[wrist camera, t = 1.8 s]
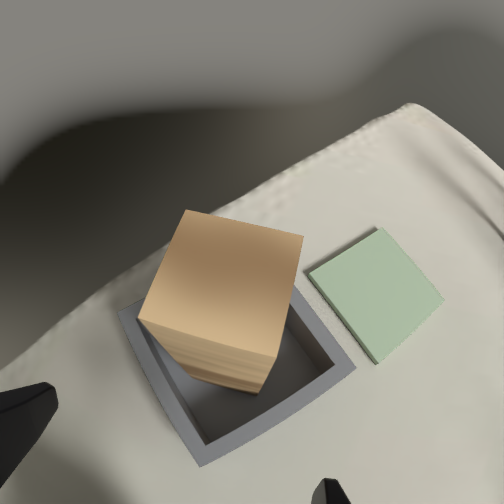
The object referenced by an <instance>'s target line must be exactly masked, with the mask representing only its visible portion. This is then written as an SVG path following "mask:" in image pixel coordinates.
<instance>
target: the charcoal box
mask: <svg viewBox="0 0 504 504" xmlns="http://www.w3.org/2000/svg"><path fill="white" fill-rule="evenodd" d="M145 299H146V298H144V299H142V300H140V301H138V302H136V303H134V304H132V305H130V306H128V307H127V308H125V309H123V310H121V311H119V312H117V314H118V317H119V319H120V322H121V324H122V326H123V328H124V331H125V333H126V335H127V337H128V340H129V342H130V344H131V346H132V348H133V350H134V352H135V355H136V357H137V359H138V361H139V363H140V365H141V367H142V369H143V371H144V373H145V375H146V377H147V379H148V381H149V383H150V385H151V387H152V388H153V390H154V392H155V394H156V396H157V398H158V400H159V401H160V403H161V405H162V407H163V409H164V410H165V412H166V414H167V416H168V417H169V419H170V421H171V422H172V424H173V426H174V428H175V429H176V431H177V433H178V434H179V436H180V437H181V439H182V441H183V442H184V444H185V446H186V447H187V449H188V450H189V452H190V453H191V455H192V456H193V458H194V459H195V461H196V463H197V464H198V466H199V467H202V466H204V465H206V464H208V463H210V462H212V461H214V460H216V459H218V458H220V457H222V456H224V455H225V454H227V453H229V452H231V451H233V450H235V449H236V448H238V447H240V446H242V445H244V444H245V443H247V442H249V441H251V440H252V439H254V438H256V437H257V436H259V435H261V434H262V433H264V432H266V431H267V430H269V429H271V428H272V427H274V426H275V425H277V424H279V423H280V422H282V421H283V420H285V419H286V418H288V417H290V416H291V415H293V414H294V413H296V412H297V411H299V410H300V409H302V408H303V407H305V406H306V405H307V404H309V403H310V402H312V401H313V400H315V399H316V398H317V397H319V396H320V395H322V394H323V393H324V392H326V391H327V390H329V389H330V388H331V387H333V386H334V385H335V384H337V383H338V382H339V381H341V380H342V379H343V378H345V377H346V376H347V375H348V374H350V373H351V372H352V371H354V370H355V369H356V366H355V365H354V364H353V362H352V361H351V360H350V358H349V357H348V356H347V354H346V353H345V352H344V350H343V349H342V348H341V346H340V345H339V344H338V342H337V341H336V340H335V338H334V337H333V336H332V334H331V333H330V332H329V330H328V329H327V328H326V326H325V325H324V324H323V322H322V321H321V320H320V318H319V317H318V316H317V314H316V313H315V312H314V310H313V309H312V308H311V306H310V305H309V304H308V302H307V301H306V300H305V298H304V297H303V296H302V294H301V293H300V292H299V291H298V289H297V288H296V287H295V285H293V290H292V294H291V299H290V303H289V308H288V312H287V317H286V321H285V325H284V329H283V334H282V338H281V342H280V346H279V350H278V354H277V358H276V360H275V362H274V364H273V366H272V368H271V370H270V372H269V374H268V376H267V378H266V380H265V382H264V384H263V386H262V388H261V389H260V391H259V393H258V395H257V396H254V395H250V394H246V393H242V392H238V391H234V390H231V389H227V388H223V387H220V386H216V385H213V384H209V383H206V382H203V381H199V380H196V379H193V378H192V377H191V376H190V375H189V374H188V373H187V372H186V371H185V370H184V369H183V368H182V367H181V366H180V365H179V364H178V363H177V362H176V361H175V360H174V358H173V357H172V356H171V355H170V354H169V353H168V352H167V351H166V350H165V349H164V347H163V346H162V345H161V344H160V343H159V342H158V341H157V340H156V338H155V337H154V336H153V335H152V334H151V333H150V332H149V330H148V329H147V328H146V327H145V326H144V324H143V323H142V322H141V321H140V320H139V319H138V316H139V313H140V311H141V308H142V306H143V304H144V301H145Z"/></svg>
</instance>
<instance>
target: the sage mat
mask: <svg viewBox="0 0 504 504" xmlns="http://www.w3.org/2000/svg"><path fill="white" fill-rule="evenodd" d="M308 277H309V279H310V280H311V281H312V283H313V284H314V285H315V286H316V288H317V289H318V290H319V292H320V293H321V294H322V295H323V297H324V298H325V299H326V300H327V302H328V303H329V304H330V306H331V307H332V308H333V310H334V311H335V312H336V313H337V315H338V316H339V317H340V319H341V320H342V321H343V323H344V324H345V325H346V326H347V328H348V329H349V330H350V332H351V333H352V334H353V336H354V337H355V338H356V340H357V341H358V342H359V344H360V345H361V346H362V347H363V349H364V350H365V351H366V353H367V354H368V355H369V357H370V358H371V359H372V361H373V362H374V363H375V365H377V364H378V363H380V362H381V361H382V360H383V359H384V358H386V357H387V356H388V355H389V354H390V353H391V352H392V351H393V350H395V349H396V348H397V347H398V346H399V345H400V344H401V343H402V342H403V341H404V340H405V339H407V338H408V337H409V336H410V335H411V334H412V333H413V332H414V331H415V330H416V329H417V328H418V327H419V326H420V325H421V324H422V323H423V322H424V321H425V320H426V319H427V318H428V317H429V316H430V315H431V314H432V313H433V312H434V311H435V310H436V309H437V308H438V307H439V306H440V305H441V304H442V303H443V302H444V298H443V297H442V296H441V295H440V293H439V292H438V291H437V290H436V288H435V287H434V286H433V285H432V283H431V282H430V281H429V280H428V279H427V277H426V276H425V275H424V274H423V272H422V271H421V270H420V269H419V268H418V267H417V265H416V264H415V263H414V262H413V261H412V260H411V258H410V257H409V256H408V255H407V254H406V253H405V251H404V250H403V249H402V248H401V247H400V246H399V245H398V244H397V242H396V241H395V240H394V239H393V238H392V237H391V236H390V235H389V234H388V232H387V231H386V230H385V229H384V228H383V227H382V228H380V229H379V230H377V231H376V232H374V233H373V234H371V235H370V236H368V237H366V238H365V239H363V240H362V241H360V242H359V243H357V244H355V245H354V246H352V247H351V248H349V249H347V250H346V251H344V252H343V253H341V254H340V255H338V256H336V257H335V258H333V259H331V260H330V261H328V262H327V263H325V264H323V265H322V266H320V267H318V268H317V269H315V270H314V271H312V272H310V273H309V275H308Z"/></svg>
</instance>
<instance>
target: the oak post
mask: <svg viewBox="0 0 504 504" xmlns="http://www.w3.org/2000/svg"><path fill="white" fill-rule="evenodd" d="M303 237H304V236H301V235H297V234H292V233H288V232H284V231H280V230H275V229H271V228H267V227H262V226H258V225H254V224H249V223H245V222H240V221H236V220H231V219H227V218H222V217H218V216H213V215H209V214H204V213H199V212H194V211H190V210H186V211H185V213H184V215H183V217H182V219H181V221H180V223H179V225H178V227H177V229H176V231H175V234H174V236H173V238H172V240H171V242H170V244H169V247H168V249H167V251H166V253H165V255H164V257H163V260H162V262H161V264H160V266H159V269H158V271H157V273H156V275H155V278H154V280H153V282H152V285H151V287H150V289H149V292H148V294H147V296H146V299H145V301H144V304H143V306H142V308H141V311H140V313H139V316H138V319H139V320H140V321H141V322H142V323H143V324H144V326H145V327H146V328H147V329H148V330H149V332H150V333H151V334H152V335H153V336H154V337H155V338H156V340H157V341H158V342H159V343H160V344H161V345H162V346H163V347H164V349H165V350H166V351H167V352H168V353H169V354H170V355H171V356H172V357H173V358H174V360H175V361H176V362H177V363H178V364H179V365H180V366H181V367H182V368H183V369H184V370H185V371H186V372H187V373H188V374H189V375H190V376H191V377H192V378H193V379H196V380H199V381H203V382H206V383H209V384H213V385H216V386H220V387H223V388H227V389H231V390H234V391H238V392H242V393H246V394H250V395H254V396H257V395H258V393H259V391H260V389H261V388H262V386H263V384H264V382H265V380H266V378H267V376H268V374H269V372H270V370H271V368H272V366H273V364H274V362H275V360H276V358H277V354H278V350H279V346H280V342H281V338H282V334H283V329H284V325H285V321H286V317H287V312H288V308H289V303H290V299H291V294H292V290H293V285H294V281H295V276H296V271H297V267H298V262H299V257H300V252H301V247H302V242H303Z"/></svg>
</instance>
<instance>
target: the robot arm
mask: <svg viewBox="0 0 504 504" xmlns="http://www.w3.org/2000/svg"><path fill="white" fill-rule="evenodd" d="M57 408H58V399H57V394H56V389H55V387H54V386H52V385H50V384H49V383H47V382H42V383H38V384H34V385H30V386H26V387H22V388H17V389H13V390H9V391H5V392H0V488H1V487H2V485H3V484H4V483H5V481H6V480H7V479H8V478H9V476H10V475H11V474H12V472H13V471H14V470H15V468H16V467H17V466H18V464H19V463H20V462H21V461H22V459H23V458H24V457H25V456H26V454H27V453H28V452H29V450H30V449H31V448H32V447H33V445H34V444H35V443H36V442H37V440H38V439H39V437H40V436H41V434H42V433H43V431H44V430H45V428H46V426H47V425H48V423H49V421H50V420H51V418H52V417H53V415H54V414H55V412H56V410H57ZM311 504H351V503H350V501H349V499H348V497H347V496H346V494H345V492H344V491H343V489H342V487H341V486H340V484H339V482H338V481H337V480H336V479H331V478H324V479H322V481H321V482H320V484H319V485H318V486H317V488H316V489H315V491H314V493H313V496H312V501H311Z"/></svg>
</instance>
